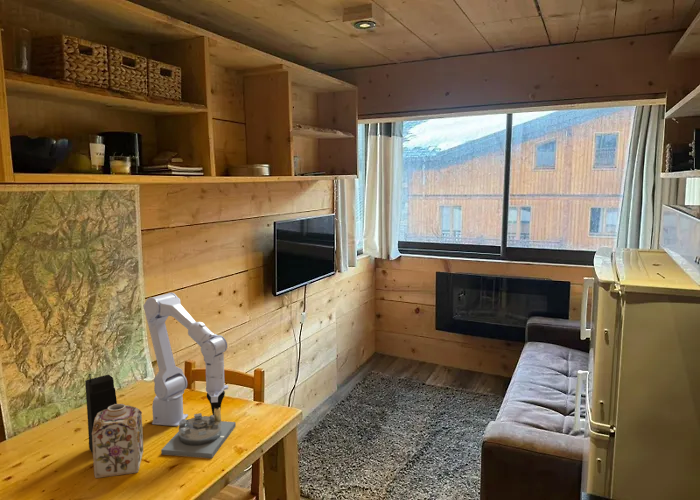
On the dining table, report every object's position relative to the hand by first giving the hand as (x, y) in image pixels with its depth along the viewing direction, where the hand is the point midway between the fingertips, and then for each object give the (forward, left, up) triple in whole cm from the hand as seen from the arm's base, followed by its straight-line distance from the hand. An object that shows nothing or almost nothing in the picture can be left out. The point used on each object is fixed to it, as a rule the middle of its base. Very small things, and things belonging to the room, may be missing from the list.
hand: (216, 414), depth 164 cm
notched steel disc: (-4, -4, -5) cm, 8 cm away
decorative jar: (-21, -21, -7) cm, 31 cm away
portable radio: (-31, -13, -7) cm, 34 cm away
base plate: (-4, -4, -7) cm, 9 cm away
